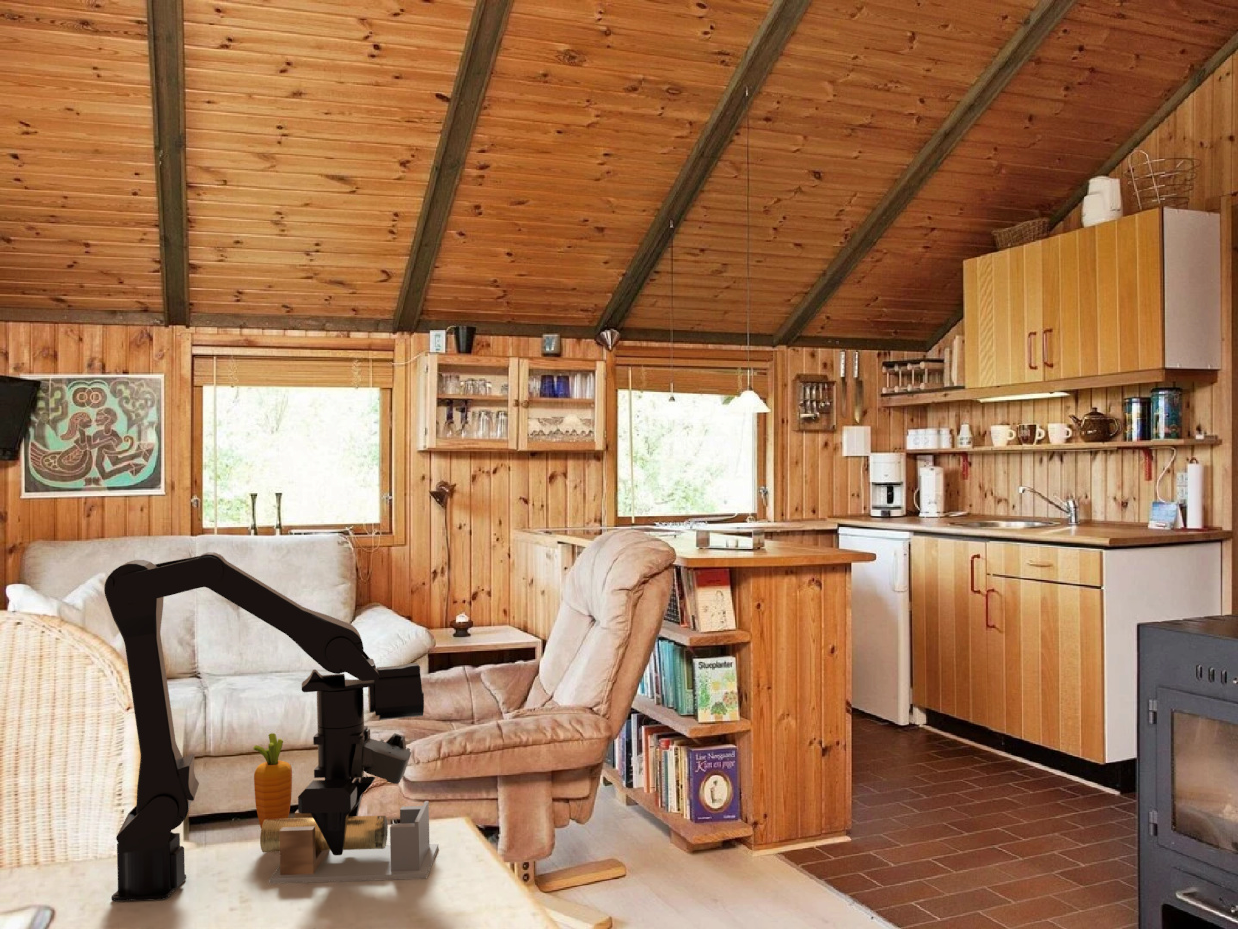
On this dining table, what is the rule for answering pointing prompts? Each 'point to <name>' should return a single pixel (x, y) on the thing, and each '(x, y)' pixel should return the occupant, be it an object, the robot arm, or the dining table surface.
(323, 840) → the tube
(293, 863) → the wooden u-shaped cradle
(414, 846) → the socket
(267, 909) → the dining table surface
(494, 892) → the dining table surface
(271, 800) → the carrot
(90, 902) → the dining table surface
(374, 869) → the board
